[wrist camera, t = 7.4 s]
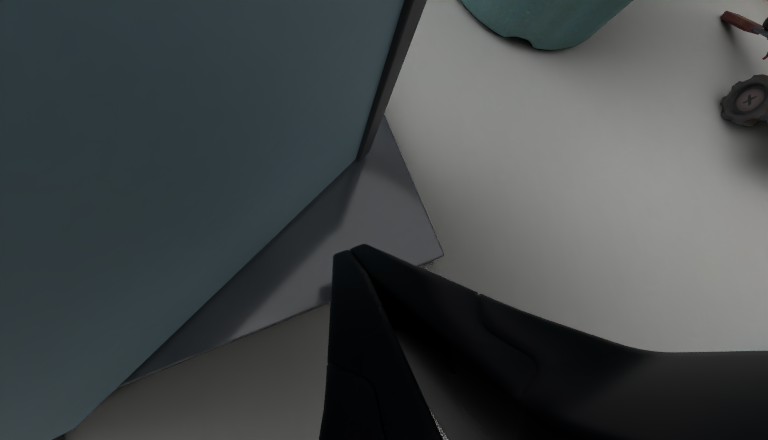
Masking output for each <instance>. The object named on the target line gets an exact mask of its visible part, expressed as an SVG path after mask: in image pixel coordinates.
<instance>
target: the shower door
mask: <svg viewBox="0 0 768 440" xmlns="http://www.w3.org/2000/svg"><path fill="white" fill-rule="evenodd" d="M426 1H427V0H0V440H52V439H54V438H56V437H58V436H60V435H62V434H64V433H66V432H68V431H70V430H72V429H74V428H75V427H76V426H78V425H79V424H80V423H81V422H82V421H83V420H84V419H85V418H86V417H87V416H88V415H89V414H90V413H91V412H92V411H93V410H94V409H95V408H96V407H97V406H98V405H99V404H100V403H102V402H103V401H104V400H105V399H106V398H107V397H108V396H109V395H110V394H111V393H112V392H113V391H114V390H115V389H116V388H117V387H118V386H119V385H120V384H121V383H122V382H123V381H125V380H126V379H127V378H128V377H129V376H130V375H131V374H132V373H133V372H134V371H135V370H136V369H137V368H138V367H139V366H140V365H141V364H142V363H143V362H144V361H145V360H146V359H147V358H149V357H150V356H151V355H152V354H153V353H154V352H155V351H156V350H157V349H158V348H159V347H160V346H161V345H162V344H163V343H164V342H165V341H166V340H167V339H168V338H169V337H170V336H171V335H173V334H174V333H175V332H176V331H177V330H178V329H179V328H180V327H181V326H182V325H183V324H184V323H185V322H186V321H187V320H188V319H189V318H190V317H191V316H192V315H193V314H194V313H195V312H197V311H198V310H199V309H200V308H201V307H202V306H203V305H204V304H205V303H206V302H207V301H208V300H209V299H210V298H211V297H212V296H213V295H214V294H215V293H216V292H217V291H218V290H219V289H221V288H222V287H223V286H224V285H225V284H226V283H227V282H228V281H229V280H230V279H231V278H232V277H233V276H234V275H235V274H236V273H237V272H238V271H239V270H240V269H241V268H242V267H244V266H245V265H246V264H247V263H248V262H249V261H250V260H251V259H252V258H253V257H254V256H255V255H256V254H257V253H258V252H259V251H260V250H261V249H262V248H263V247H264V246H265V245H266V244H268V243H269V242H270V241H271V240H272V239H273V238H274V237H275V236H276V235H277V234H278V233H279V232H280V231H281V230H282V229H283V228H284V227H285V226H286V225H287V224H288V223H289V222H290V221H292V220H293V219H294V218H295V217H296V216H297V215H298V214H299V213H300V212H301V211H302V210H303V209H304V208H305V207H306V206H307V205H308V204H309V203H310V202H311V201H312V200H313V199H314V198H316V197H317V196H318V195H319V194H320V193H321V192H322V191H323V190H324V189H325V188H326V187H327V186H328V185H329V184H330V183H331V182H332V181H333V180H334V179H335V178H336V177H337V176H338V175H340V174H341V173H342V172H343V171H344V170H345V169H346V168H347V167H348V166H349V165H350V164H351V163H352V162H353V161H354V160H355V159H357V160H358V161H360V160H361V159H362V158H363V157H365V156H366V155H367V154H368V153H369V152H370V149H371V146H372V144H373V141H374V138H375V136H376V133H377V131H378V128H379V125H380V123H381V120H382V117H383V115H384V112H385V109H386V107H387V104H388V101H389V99H390V96H391V94H392V91H393V88H394V86H395V83H396V80H397V78H398V75H399V72H400V70H401V67H402V64H403V62H404V59H405V57H406V54H407V51H408V49H409V46H410V43H411V41H412V38H413V35H414V33H415V30H416V28H417V25H418V22H419V20H420V17H421V14H422V12H423V9H424V6H425V4H426Z"/></svg>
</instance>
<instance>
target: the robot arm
mask: <svg viewBox="0 0 768 440" xmlns="http://www.w3.org/2000/svg"><path fill="white" fill-rule="evenodd" d="M429 409H430V410H429ZM430 411H431V412H432V414H433V416H434V417H435V419H436V420H437V422H438V423H439V425H440V427H441V428H442V430H443V431H444V433H445V434H446V436H447V438H448V439H449V440H768V351H730V352H655V351H648V350H642V349H637V348H633V347H628V346H625V345H621V344H618V343H615V342H612V341H609V340H606V339H603V338H600V337H597V336H594V335H591V334H588V333H585V332H582V331H579V330H576V329H573V328H570V327H567V326H564V325H561V324H558V323H555V322H552V321H549V320H546V319H544V318H541V317H538V316H535V315H532V314H530V313H527V312H524V311H521V310H519V309H516V308H514V307H511V306H509V305H506V304H504V303H501V302H499V301H496V300H494V299H492V298H490V297H487V296H485V295H483V294H479V295H478V293H477V292H475V291H473V290H471V289H469V288H466V287H464V286H462V285H459V284H457V283H455V282H452V281H450V280H448V279H446V278H443V277H441V276H439V275H436V274H434V273H432V272H430V271H427V270H425V269H423V268H420V267H418V266H416V265H413V264H411V263H409V262H407V261H404V260H402V259H400V258H397V257H395V256H393V255H391V254H388V253H386V252H384V251H381V250H379V249H377V248H374V247H372V246H370V245H368V244H361V245H358V246H356V247H353V248H351V249H350V251H349V250H345V251H342V252H339V253H336V254H334V256H333V268H332V287H331V306H330V324H329V343H328V365H327V375H326V389H325V400H324V410H323V417H322V423H321V429H320V436H319V440H443V439H442V436H441V434H440V432H439V430H438V428H437V425H436V423H435V421H434V419H433V416H432V414H431V412H430Z"/></svg>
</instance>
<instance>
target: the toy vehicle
mask: <svg viewBox="0 0 768 440" xmlns="http://www.w3.org/2000/svg"><path fill="white" fill-rule="evenodd" d="M720 18H721V19H722V20H724V21H726V22H728V23H730V24H731V25H733V26H735V27H737V28H739V29H741V30H743V31H746V32H750V33H754V34H757V35H759V34H761V35H763V36H765V37H767V40H768V18H767V19H766V20H765V21H764V23H763V26H762V25H760V24H757V23H755V22H753V21H751V20H749V19H747V18H745V17H743V16H741V15H739V14H735V13H732V12H729V11H725V12H724V14H723V15H722V16H721V17H720ZM763 28H764V29H763ZM767 57H768V52H767V55H766V56H765V57H764V58H762V59H763V60H764V59H766V58H767ZM721 105H722V106H723V112H722V114H721V115H722V117H723V118H724V119H727V120H732V121H734V123H736V124H740V125H753V124H754V123H755V122H758V121H761V120H766V121H767V120H768V76H766V75H763V74H761V75H754V76H753V77H752V78H751V79H749V80H746V81H744V82H740V81H739V82H738V83H736V84H735V85H734V86H732V90H731V92H730V93H729V94H728V95H727V96H726V97H724V98H723V99H722V101H721Z"/></svg>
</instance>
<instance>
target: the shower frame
mask: <svg viewBox="0 0 768 440" xmlns="http://www.w3.org/2000/svg"><path fill="white" fill-rule="evenodd" d="M361 244H368V245H370V246H372V247H374V248H377V249H379V250H381V251H384V252H386V253H388V254H391V255H393V256H395V257H397V258H400V259H402V260H404V261H407V262H409V263H411V264H413V265H416V266H421V265H423V264H426V263H428V262H431V261H433V260H436V259H438V258H441V257H443V256H444V253H443V251H442V248H441V246H440V244H439V241H438V239H437V237H436V234H435V232H434V230H433V227H432V225H431V223H430V220H429V218H428V216H427V213H426V211H425V209H424V206H423V204H422V202H421V199H420V197H419V195H418V192H417V190H416V188H415V185H414V183H413V181H412V178H411V176H410V174H409V171H408V169H407V167H406V164H405V162H404V160H403V157H402V155H401V153H400V150H399V148H398V146H397V143H396V141H395V139H394V136H393V134H392V132H391V129H390V127H389V125H388V122H387V120H386V118H385V116H384V115H383V117H382V120H381V123H380V125H379V128H378V131H377V133H376V136H375V138H374V141H373V144H372V146H371V149H370V152H369V153H368V154H367V155H366V156H365V157H363V158H362V159H361V160H360V161H358V160H357V159H355V160H354V161H353V162H352V163H351V164H350V165H349V166H348V167H347V168H346V169H345V170H344V171H343V172H342V173H341V174H340V175H338V176H337V177H336V178H335V179H334V180H333V181H332V182H331V183H330V184H329V185H328V186H327V187H326V188H325V189H324V190H323V191H322V192H321V193H320V194H319V195H318V196H317V197H316V198H314V199H313V200H312V201H311V202H310V203H309V204H308V205H307V206H306V207H305V208H304V209H303V210H302V211H301V212H300V213H299V214H298V215H297V216H296V217H295V218H294V219H293V220H292V221H290V222H289V223H288V224H287V225H286V226H285V227H284V228H283V229H282V230H281V231H280V232H279V233H278V234H277V235H276V236H275V237H274V238H273V239H272V240H271V241H270V242H269V243H268V244H266V245H265V246H264V247H263V248H262V249H261V250H260V251H259V252H258V253H257V254H256V255H255V256H254V257H253V258H252V259H251V260H250V261H249V262H248V263H247V264H246V265H245V266H244V267H242V268H241V269H240V270H239V271H238V272H237V273H236V274H235V275H234V276H233V277H232V278H231V279H230V280H229V281H228V282H227V283H226V284H225V285H224V286H223V287H222V288H221V289H219V290H218V291H217V292H216V293H215V294H214V295H213V296H212V297H211V298H210V299H209V300H208V301H207V302H206V303H205V304H204V305H203V306H202V307H201V308H200V309H199V310H198V311H197V312H195V313H194V314H193V315H192V316H191V317H190V318H189V319H188V320H187V321H186V322H185V323H184V324H183V325H182V326H181V327H180V328H179V329H178V330H177V331H176V332H175V333H174V334H173V335H171V336H170V337H169V338H168V339H167V340H166V341H165V342H164V343H163V344H162V345H161V346H160V347H159V348H158V349H157V350H156V351H155V352H154V353H153V354H152V355H151V356H150V357H149V358H147V359H146V360H145V361H144V362H143V363H142V364H141V365H140V366H139V367H138V368H137V369H136V370H135V371H134V372H133V373H132V374H131V375H130V376H129V377H128V378H127V379H126V380H125V381H123V382H122V383H121V384H120V385H119V386H118V387H117V388H119V387H122V386H124V385H127V384H129V383H132V382H134V381H137V380H139V379H142V378H144V377H147V376H149V375H152V374H154V373H156V372H159V371H161V370H164V369H166V368H169V367H171V366H174V365H176V364H179V363H181V362H184V361H186V360H189V359H191V358H194V357H196V356H198V355H201V354H203V353H206V352H208V351H211V350H213V349H216V348H218V347H221V346H223V345H226V344H228V343H231V342H233V341H236V340H238V339H240V338H243V337H245V336H248V335H250V334H253V333H255V332H258V331H260V330H263V329H265V328H268V327H270V326H273V325H275V324H278V323H280V322H282V321H285V320H287V319H290V318H292V317H295V316H297V315H300V314H302V313H305V312H307V311H310V310H312V309H315V308H317V307H320V306H322V305H325V304H327V303H329V302H331V287H332V268H333V256H334V254H336V253H339V252H342V251H345V250H349V251H350V249H351V248H353V247H356V246H358V245H361ZM117 388H116V389H117ZM52 440H64V438H63V434H62V435H60V436H58V437H56V438H54V439H52Z"/></svg>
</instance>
